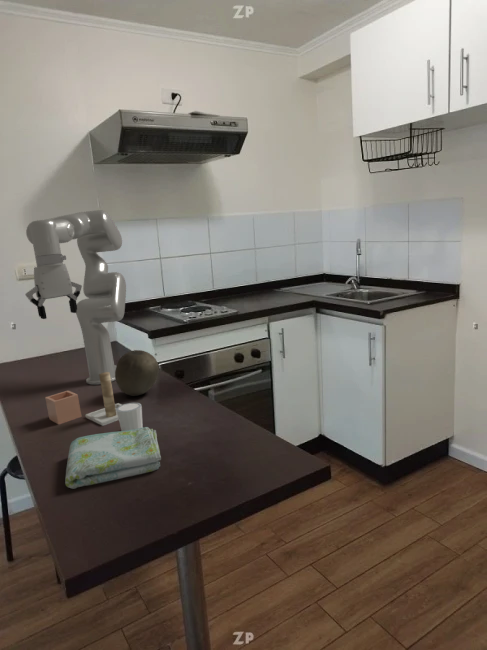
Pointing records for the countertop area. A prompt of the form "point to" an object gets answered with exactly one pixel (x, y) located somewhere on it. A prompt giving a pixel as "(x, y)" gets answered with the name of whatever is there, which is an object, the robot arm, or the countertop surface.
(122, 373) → the cantaloupe
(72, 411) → the cup
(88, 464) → the towel
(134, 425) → the shot glass
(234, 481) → the countertop surface
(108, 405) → the dowel
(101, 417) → the tray
